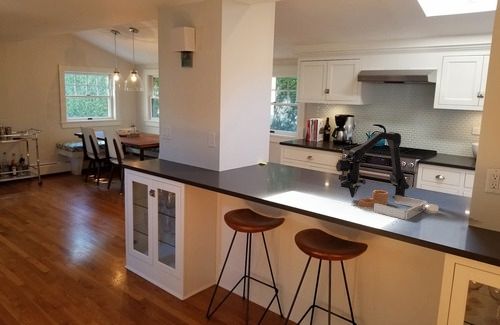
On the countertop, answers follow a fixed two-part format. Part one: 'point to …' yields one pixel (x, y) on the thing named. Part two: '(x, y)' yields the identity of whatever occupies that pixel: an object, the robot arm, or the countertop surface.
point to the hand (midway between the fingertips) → (352, 197)
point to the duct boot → (415, 209)
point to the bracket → (374, 199)
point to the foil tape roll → (431, 209)
